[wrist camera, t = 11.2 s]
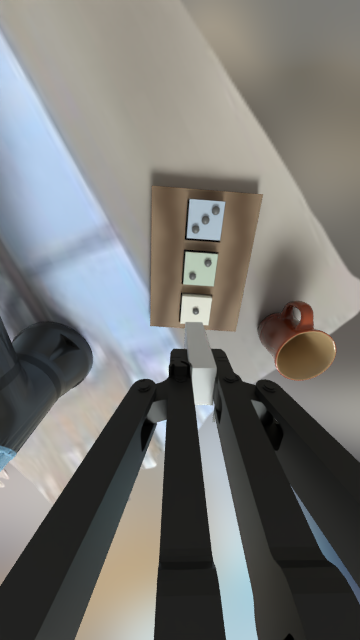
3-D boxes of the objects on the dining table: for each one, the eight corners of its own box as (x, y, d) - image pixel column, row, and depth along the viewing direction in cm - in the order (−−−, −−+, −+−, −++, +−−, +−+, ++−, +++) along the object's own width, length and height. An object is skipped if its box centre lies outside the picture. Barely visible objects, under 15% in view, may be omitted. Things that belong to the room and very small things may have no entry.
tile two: (183, 280, 34) (183, 284, 31) (185, 250, 32) (185, 252, 29) (210, 282, 34) (213, 286, 31) (214, 253, 32) (218, 254, 29)
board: (151, 321, 38) (150, 325, 36) (153, 189, 29) (151, 185, 27) (232, 327, 38) (235, 331, 36) (257, 197, 29) (263, 194, 28)
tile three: (186, 238, 32) (186, 237, 28) (188, 203, 30) (189, 198, 26) (216, 240, 32) (220, 240, 28) (221, 205, 30) (225, 201, 26)
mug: (294, 345, 39) (330, 378, 30) (251, 348, 40) (273, 382, 30) (302, 288, 35) (348, 305, 25) (254, 292, 35) (280, 311, 26)
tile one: (180, 316, 37) (180, 324, 34) (182, 291, 35) (182, 296, 32) (206, 318, 37) (208, 326, 34) (209, 293, 35) (212, 298, 32)
